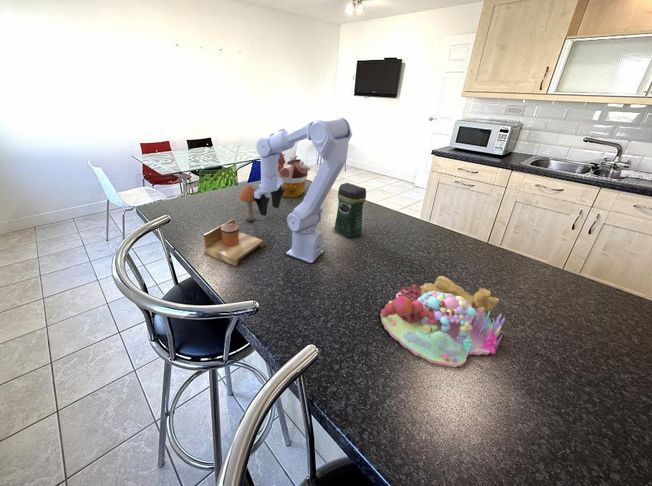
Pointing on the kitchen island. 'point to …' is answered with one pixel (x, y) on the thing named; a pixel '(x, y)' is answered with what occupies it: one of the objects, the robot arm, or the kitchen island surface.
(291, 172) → the bucket of meat
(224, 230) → the pot
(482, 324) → the candy landscape model
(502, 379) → the kitchen island surface
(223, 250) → the shelf
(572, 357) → the kitchen island surface
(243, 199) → the mushroom
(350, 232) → the coffee jar
